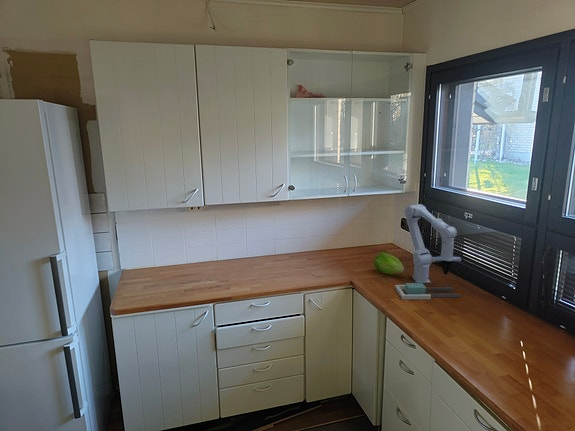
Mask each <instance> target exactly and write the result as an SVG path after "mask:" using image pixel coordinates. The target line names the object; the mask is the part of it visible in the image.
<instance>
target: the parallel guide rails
mask: <svg viewBox="0 0 575 431" xmlns="http://www.w3.org/2000/svg"><path fill="white" fill-rule="evenodd" d="M425 287H426V292H430V291H431V292H432V291H433V292H437V293H429V294H430V295H431V298H459V297H460V293H445V292H447V291H451V292H453V290H454V288H453V287H452V286H446V287H445V286H444V287H443V286H442V287H441V286H434V287H433V286H432V287H431V286H430V287H429V286H428V287H427V286H425ZM441 291H442V292H444V291H445V292H444V293H438V292H441Z"/></svg>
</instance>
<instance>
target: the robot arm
mask: <svg viewBox="0 0 575 431" xmlns="http://www.w3.org/2000/svg"><path fill="white" fill-rule="evenodd" d="M404 215H405V218H406V224H407V227H408V231H409V234H410V237H411V241H412V244H413V247H414V252H412V258H413V259H412V262H413V264H414V266H413V275H412V276H411V278H412V279H413V280H414V282H415V283H423V284H431V283H432V282H431V280H430V278H429V274H430V266H431V264H432V263H433V262H434V263H435V262H439V263H440V264H441V268H442V273H443V274H444V276H445V275H448V274H449V270H450V269H451V268H452V266H453V265H454V262H461V261H462V258H461V257H460V256H453V255H454V245H455V237H457V235H458V231H457V228H456V227H455V226H450V225H449V224H447V223H446V222H444V221H443V219H442V218H436V217H435V216H434V215H433V214H432V213H431V212H429V210H427V207H426V206H425V205H424V204H422V203H419V204H412V205H407V206H406V207H405V209H404ZM420 218H423V219H424V220H426V221H427V222H429V223H430V224H431V227H432V228H433V229H435V230H436V231H437V232H438V233H439V234H440V237H441V251H440V252H441V253H440V255H438V256H433V255H432V254H431V253H430V250H429V249H427V248H426V247H425V244H424V240H423V237H422V234H421V230H420V228H419V224H418V221H419V219H420Z"/></svg>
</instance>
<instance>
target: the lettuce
mask: <svg viewBox="0 0 575 431" xmlns="http://www.w3.org/2000/svg"><path fill="white" fill-rule="evenodd" d="M373 266H374V268H375V269H376V270H377V271H378V272H380V273H382V274H387V275H396V274H400V273H404V272H405V270H406V269H405V267H404V265H403V263H402V261H400V259H399V258H398V257H396V256H394V255H392V254H390V253H386V252H380V253H378V254H377V255H376V257H375V258H374V261H373Z"/></svg>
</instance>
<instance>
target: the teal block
mask: <svg viewBox="0 0 575 431" xmlns="http://www.w3.org/2000/svg"><path fill="white" fill-rule="evenodd" d="M404 285H405V289H404V292H405V295H414V294H427V291H426V287H427V286H425V283H417V282H412V283H411V282H405V284H404Z"/></svg>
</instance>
